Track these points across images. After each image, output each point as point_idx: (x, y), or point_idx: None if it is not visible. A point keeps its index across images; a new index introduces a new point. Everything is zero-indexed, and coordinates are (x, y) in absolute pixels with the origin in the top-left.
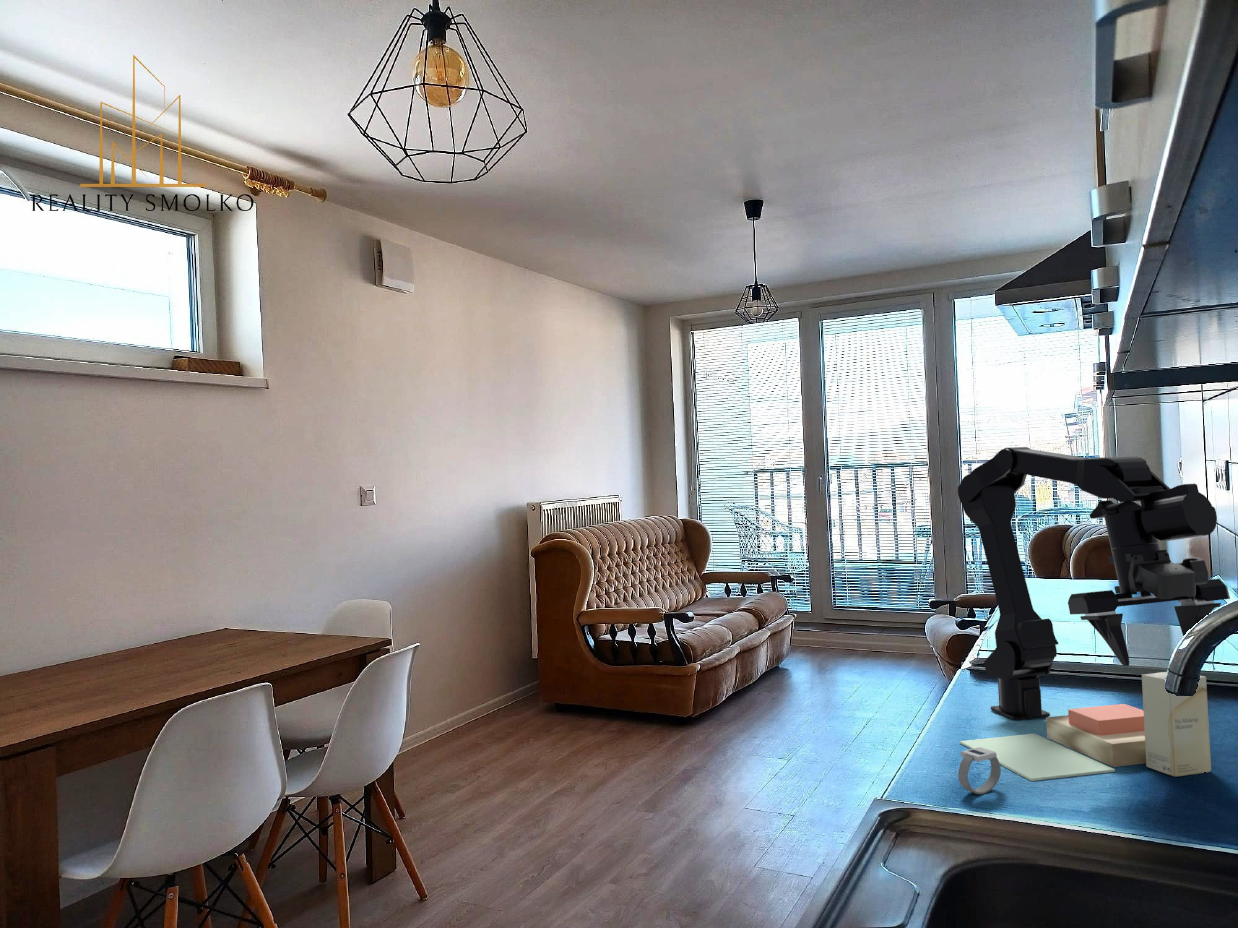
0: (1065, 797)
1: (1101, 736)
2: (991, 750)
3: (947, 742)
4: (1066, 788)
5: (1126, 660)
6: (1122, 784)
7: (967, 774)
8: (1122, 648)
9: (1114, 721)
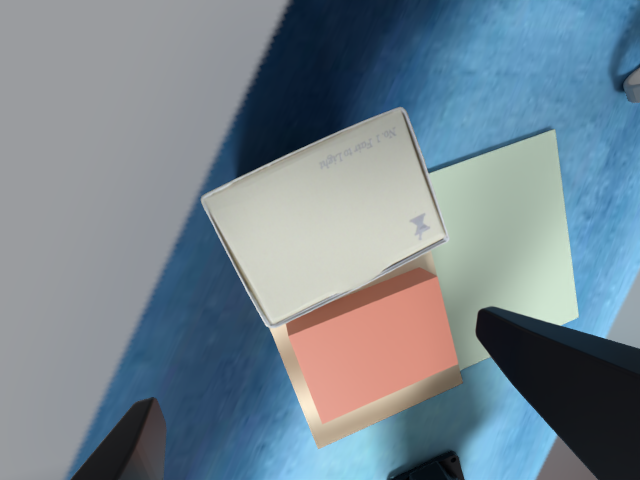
0: (535, 48)
1: (417, 261)
2: (553, 272)
3: (589, 318)
4: (515, 93)
5: (508, 313)
6: (423, 112)
7: None
8: (581, 337)
9: (396, 289)
